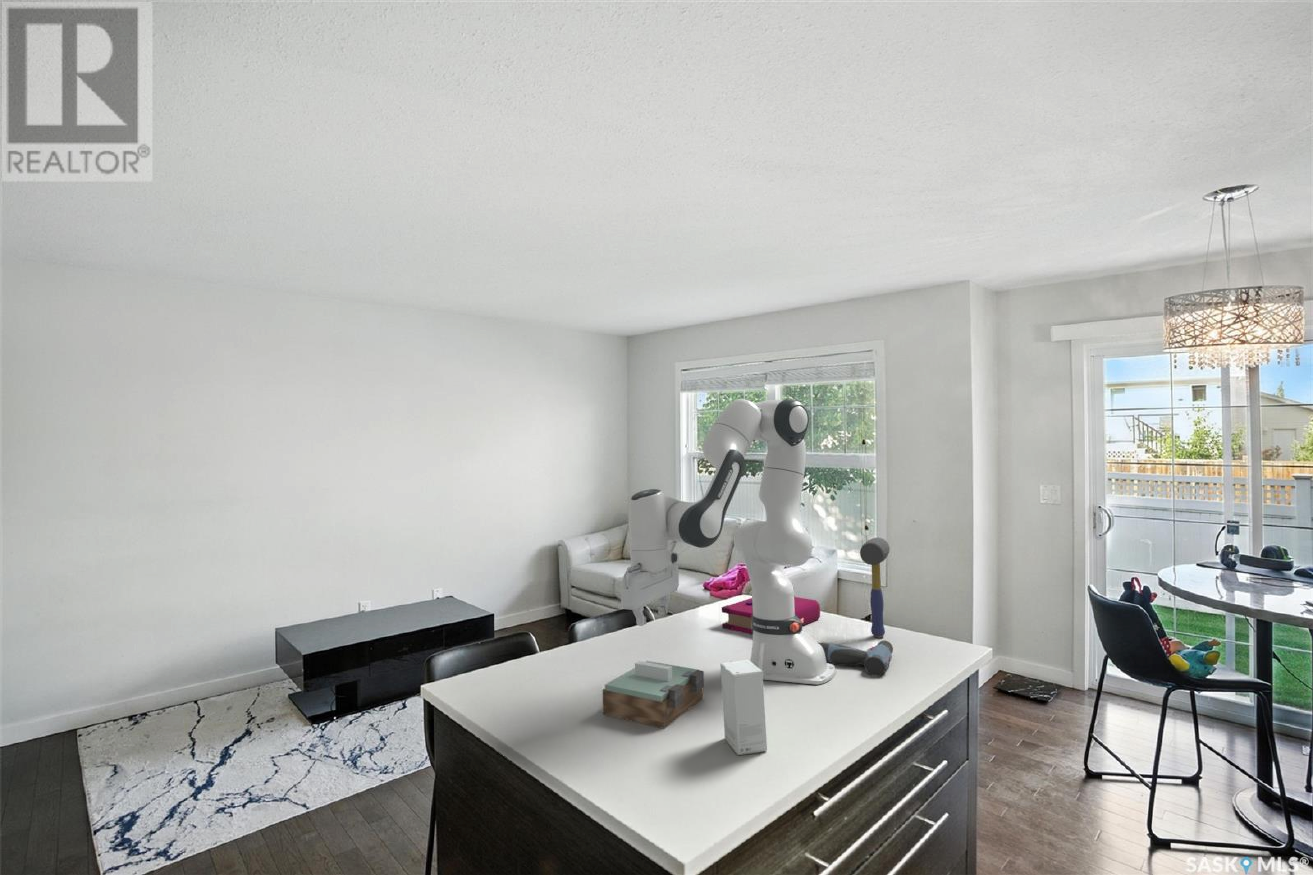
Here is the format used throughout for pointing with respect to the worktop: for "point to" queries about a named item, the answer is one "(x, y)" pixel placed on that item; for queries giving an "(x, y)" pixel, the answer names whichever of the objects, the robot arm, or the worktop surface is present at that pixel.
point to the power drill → (860, 656)
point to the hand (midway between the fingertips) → (652, 619)
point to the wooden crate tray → (656, 703)
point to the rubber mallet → (876, 580)
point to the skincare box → (743, 707)
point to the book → (743, 611)
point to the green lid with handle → (650, 680)
